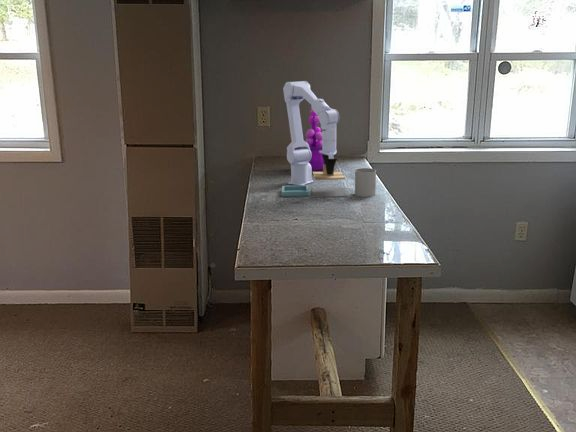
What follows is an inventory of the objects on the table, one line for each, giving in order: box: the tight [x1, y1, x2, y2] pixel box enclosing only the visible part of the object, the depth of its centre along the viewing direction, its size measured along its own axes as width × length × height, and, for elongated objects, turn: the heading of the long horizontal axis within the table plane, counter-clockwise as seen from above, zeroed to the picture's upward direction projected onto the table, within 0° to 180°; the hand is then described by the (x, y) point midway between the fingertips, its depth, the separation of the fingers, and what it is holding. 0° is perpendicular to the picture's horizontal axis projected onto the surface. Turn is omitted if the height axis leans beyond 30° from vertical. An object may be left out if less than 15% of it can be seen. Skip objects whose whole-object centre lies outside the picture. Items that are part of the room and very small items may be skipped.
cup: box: [354, 167, 377, 198], centre depth 250 cm, size 8×8×10 cm
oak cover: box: [312, 164, 346, 181], centre depth 251 cm, size 12×12×5 cm
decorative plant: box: [296, 108, 325, 172], centre depth 294 cm, size 19×18×30 cm
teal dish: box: [281, 184, 310, 198], centre depth 254 cm, size 11×11×2 cm
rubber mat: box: [311, 187, 348, 198], centre depth 254 cm, size 14×14×1 cm
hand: (329, 173), depth 252 cm, fingers closed on oak cover, 4 cm apart
